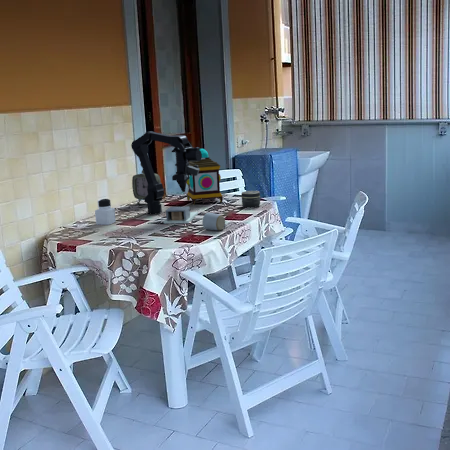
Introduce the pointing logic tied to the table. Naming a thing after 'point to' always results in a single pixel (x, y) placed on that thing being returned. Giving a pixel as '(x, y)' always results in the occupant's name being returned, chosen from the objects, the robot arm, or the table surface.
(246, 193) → the jar
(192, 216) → the board
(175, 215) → the block
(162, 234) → the table surface
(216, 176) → the decorative lantern
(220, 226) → the ceramic mug
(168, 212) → the cover
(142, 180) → the tabletop clock
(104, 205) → the medicine bottle
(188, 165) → the robot arm
